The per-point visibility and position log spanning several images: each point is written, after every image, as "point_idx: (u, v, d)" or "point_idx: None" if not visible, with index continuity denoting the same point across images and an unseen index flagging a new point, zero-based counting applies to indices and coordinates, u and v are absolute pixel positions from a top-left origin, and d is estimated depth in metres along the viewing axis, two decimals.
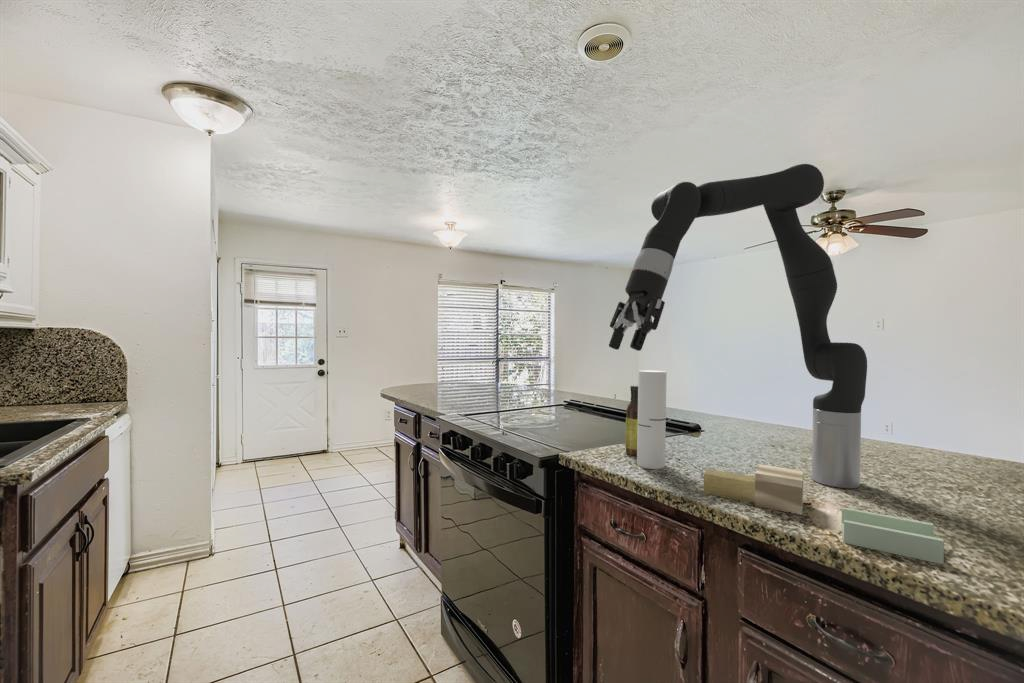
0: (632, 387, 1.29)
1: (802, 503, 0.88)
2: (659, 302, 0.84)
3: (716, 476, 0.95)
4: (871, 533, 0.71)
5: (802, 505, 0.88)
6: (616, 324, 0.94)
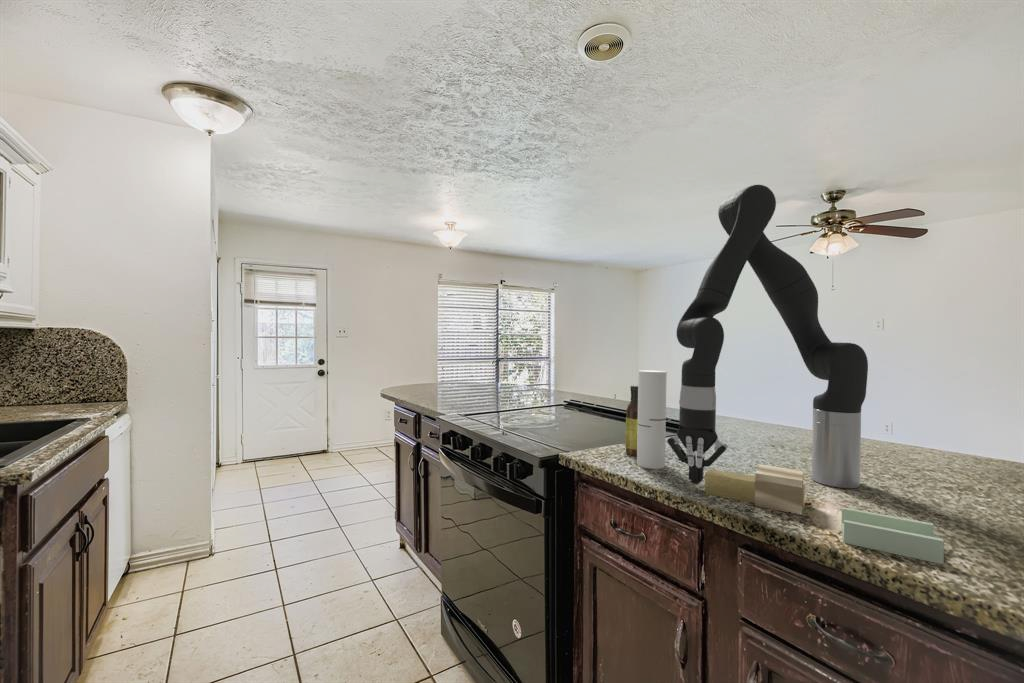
0: (632, 387, 1.29)
1: None
2: None
3: (717, 476, 0.95)
4: (871, 533, 0.71)
5: None
6: (693, 461, 0.99)
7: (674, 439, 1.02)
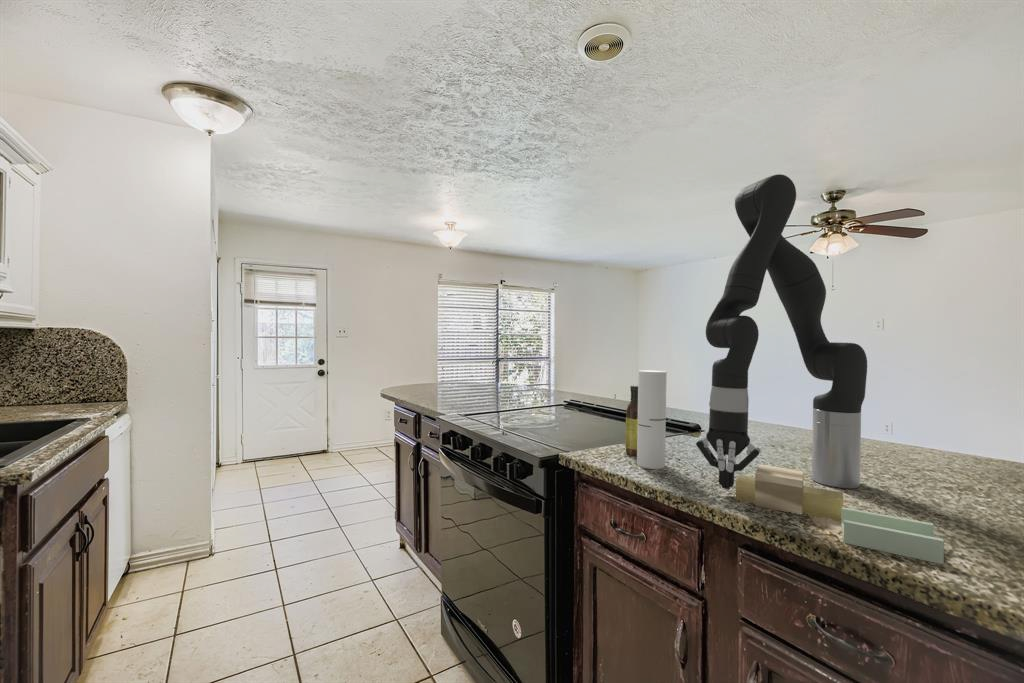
0: (632, 387, 1.29)
1: None
2: None
3: (749, 483, 0.91)
4: (871, 533, 0.71)
5: None
6: (724, 465, 0.95)
7: (703, 442, 0.98)
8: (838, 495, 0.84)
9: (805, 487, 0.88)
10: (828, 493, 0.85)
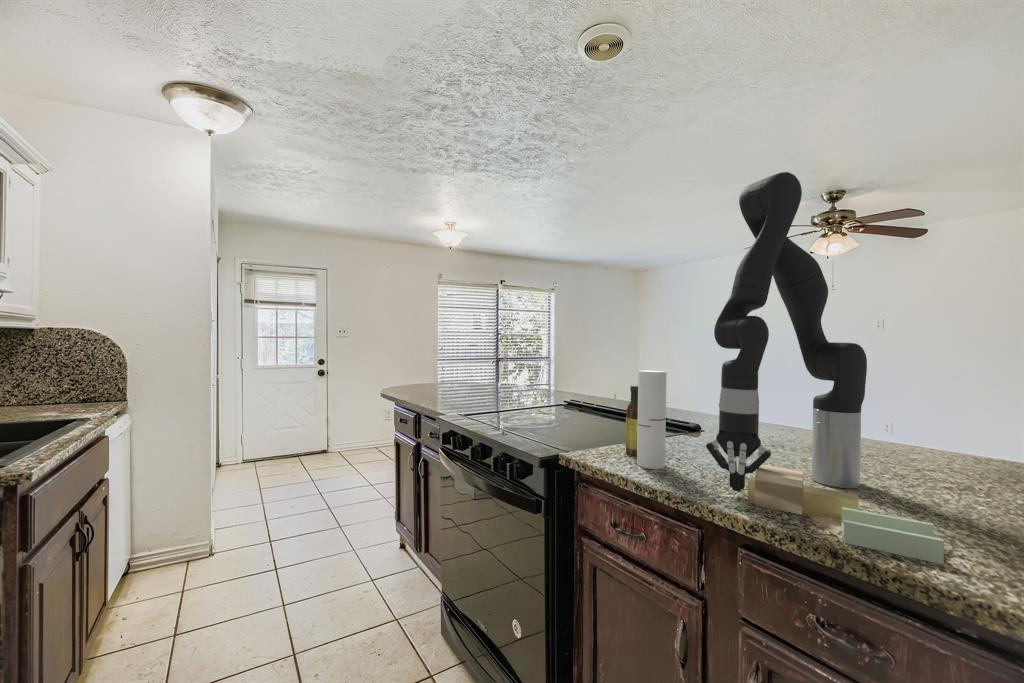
0: (632, 387, 1.29)
1: None
2: None
3: None
4: (871, 533, 0.71)
5: None
6: (734, 468, 0.94)
7: (713, 444, 0.97)
8: (852, 497, 0.83)
9: (818, 489, 0.87)
10: (842, 495, 0.84)
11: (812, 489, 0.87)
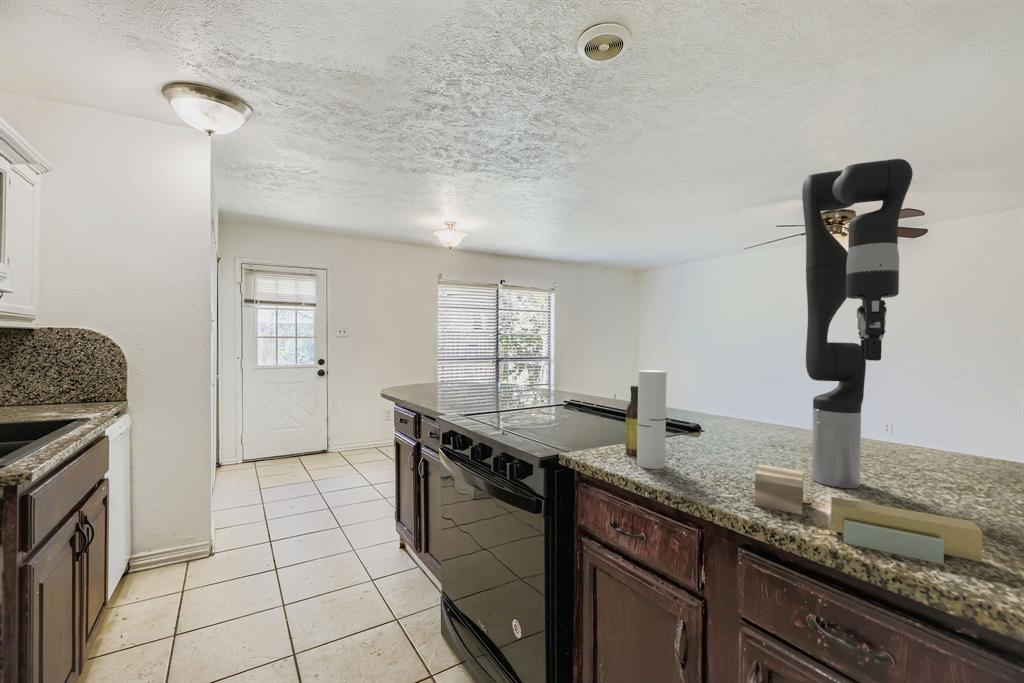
0: (632, 387, 1.29)
1: None
2: (875, 304, 0.75)
3: (850, 508, 0.74)
4: (871, 533, 0.71)
5: None
6: (860, 333, 0.85)
7: None
8: (971, 526, 0.67)
9: (922, 514, 0.72)
10: (957, 523, 0.68)
11: (915, 514, 0.71)
